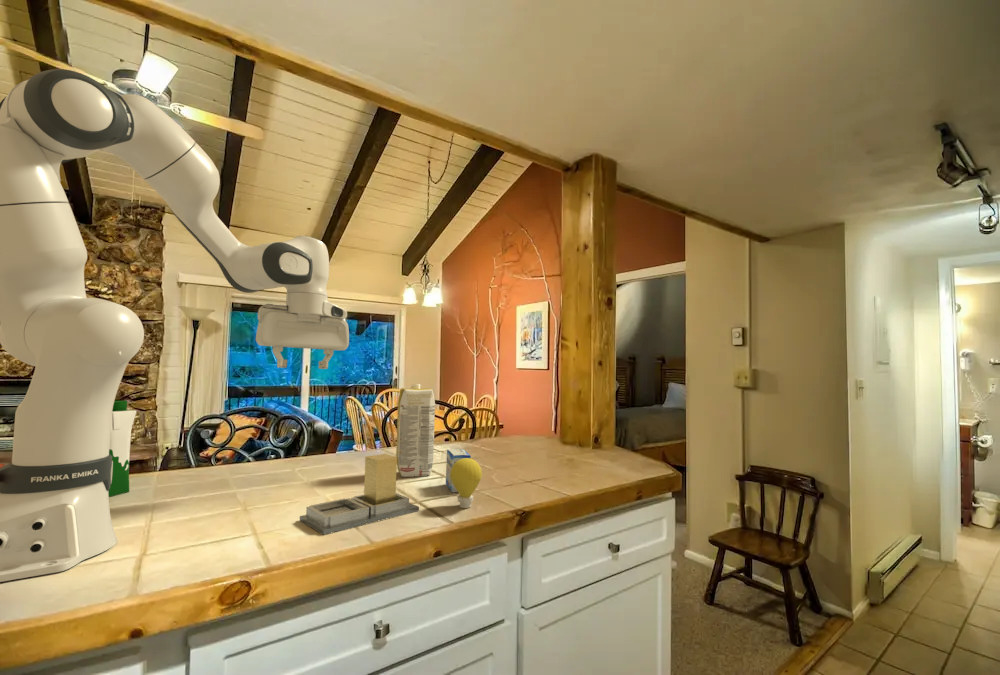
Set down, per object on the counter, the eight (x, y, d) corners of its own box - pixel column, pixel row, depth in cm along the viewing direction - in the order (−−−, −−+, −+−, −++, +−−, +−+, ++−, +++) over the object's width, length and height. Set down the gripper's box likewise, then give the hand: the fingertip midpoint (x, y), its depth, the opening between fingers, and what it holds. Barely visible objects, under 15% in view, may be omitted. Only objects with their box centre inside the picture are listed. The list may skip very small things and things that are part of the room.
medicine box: (445, 484, 116) (446, 449, 117) (463, 483, 118) (463, 448, 118) (451, 493, 109) (452, 455, 109) (470, 491, 110) (471, 454, 111)
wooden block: (375, 512, 92) (377, 460, 92) (363, 506, 95) (365, 456, 95) (395, 507, 95) (396, 457, 95) (383, 502, 98) (384, 453, 99)
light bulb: (476, 512, 95) (477, 462, 96) (445, 509, 97) (446, 460, 97) (484, 502, 102) (485, 456, 102) (454, 500, 103) (455, 454, 104)
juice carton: (428, 469, 131) (430, 383, 132) (434, 476, 124) (437, 385, 125) (394, 471, 128) (397, 383, 129) (398, 478, 121) (401, 384, 122)
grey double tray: (323, 535, 81) (324, 519, 82) (299, 520, 88) (300, 506, 89) (418, 510, 96) (419, 497, 96) (391, 499, 103) (392, 487, 103)
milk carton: (136, 491, 105) (141, 401, 106) (93, 502, 96) (99, 404, 97) (106, 487, 107) (111, 399, 108) (61, 498, 98) (67, 402, 99)
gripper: (264, 300, 99) (259, 366, 98) (353, 312, 113) (350, 369, 112) (253, 303, 103) (249, 366, 102) (341, 314, 118) (338, 369, 117)
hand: (303, 368), depth 107 cm, fingers open, 8 cm apart
